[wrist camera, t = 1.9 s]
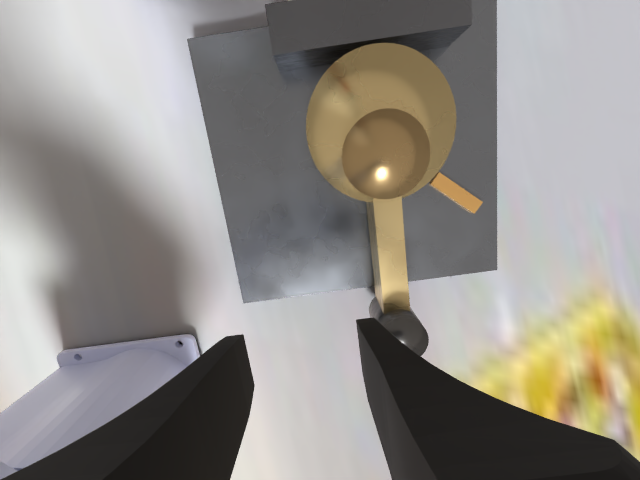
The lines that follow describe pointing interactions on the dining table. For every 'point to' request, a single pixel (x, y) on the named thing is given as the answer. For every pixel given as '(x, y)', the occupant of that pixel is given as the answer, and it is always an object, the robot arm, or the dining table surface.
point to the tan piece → (383, 156)
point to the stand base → (296, 161)
